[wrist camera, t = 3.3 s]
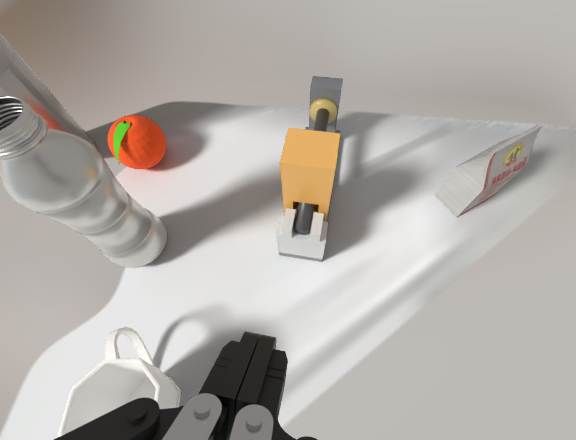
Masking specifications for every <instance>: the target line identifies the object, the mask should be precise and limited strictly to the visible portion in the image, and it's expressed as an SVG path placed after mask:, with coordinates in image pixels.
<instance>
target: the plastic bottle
mask: <svg viewBox="0 0 576 440" xmlns="http://www.w3.org/2000/svg"><path fill="white" fill-rule="evenodd" d="M0 174H1V178H2V182H3V185H4V187H5V189H6V190H7V192H8V193H9V194H10V195H11V197H12V198H13V199H14V200H15V201H16V202H17V203H19V204H21V205H23V206H25V207H27V208H29V209H30V210H32V211H35V212H37V213H39V214H42V215H44V216H47V217H49V218H51V219H54V220H56V221H58V222H60V223H63V224H65V225H67V226H68V227H70V228H72V229H73V230H76V231H77V232H79V233H80V234H82V235H84V236H85V237H87V239H89V240H90V241H91V242H92V243H93V244H95V245H96V246H97V247H98V248H99V249H100V251H101V252H102V253H103V254H104V255H105V256H106V257H107V258H108V259H109V260H110V261H111V262H113V263H115V264H117V265H120V266H124V267H128V268H137V267H142V266H145V265H147V264H149V263H151V262H152V261H154V260H155V259H156V258H157V257H158V256H159V255H160V254H161V253H162V251H163V249H164V247H165V245H166V242H167V232H166V229H165V227H164V225H163V223H162V221H161V220H160V219H159V218H158V217H157V216H156V215H154V214H153V213H152V212H150V211H149V210H147V209H145V208H143V207H142V206H141V205H140V204H139V203H137V202H136V201H135V200H134V199H133V198H132V197H130V195H129V194H128V193H127V192H126V191H125V189H124V188H123V187H122V186H121V184H120V183H119V182H118V181H117V179H116V178H115V176H114V175H113V173H112V171H111V170H110V168H109V167H108V165H107V163H106V162H105V160H104V159H103V157H102V156H101V154H100V153H99V152H98V151H97V149H96V148H95V147H94V146H93V145H92V144H90V143H89V142H87V141H86V140H84V139H82V138H81V137H78V136H76V135H73V134H70V133H66V132H63V131H59V130H54V129H49V127H48V124H47V122H46V121H45V120H44V119H43V118H42V117H41V116H40V115H39V114H37V113H35V112H34V110H33V109H32V108H31V107H30V106H29V105H28V104H27V103H26V102H25V101H23V100H22V99H21V98H19V97H16V96H1V97H0Z"/></svg>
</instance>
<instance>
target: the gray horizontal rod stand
mask: <svg viewBox="0 0 576 440" xmlns="http://www.w3.org/2000/svg"><path fill="white" fill-rule="evenodd" d="M342 80H343V79H338V78H328V77H316V76H313V79H312V83H311V92H310V115H309V127H306V129H305V130H313V131H322V132H331V133H340V131H339V130H335V129H336V122H337V115H338V108H339V101H340V94H341V88H342ZM331 194H332V192H331ZM330 201H331V198H330ZM329 208H330V204H329ZM313 209H314V204H309V203H302V202H299V205H298V210H297V215H296V209H289V208H286V210H285V215H281V217H280V221H279V226H278V230H277V235H276V237H277V243H278V250H279V255H284V256H290V257H296V258H302V259H308V260H314V261H321V262H322V259H323V254H324V249H325V244H326V237H327V229H328V215H329V210H328V215H327V221H326V222H325V221H323V216H324V213H317V212H314V214H313ZM312 215H313V220H312Z"/></svg>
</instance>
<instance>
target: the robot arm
mask: <svg viewBox="0 0 576 440" xmlns="http://www.w3.org/2000/svg"><path fill="white" fill-rule="evenodd" d="M1 96H16V97H19V98H21V99H22V100H23V101H25V102H26V103H27V104H28V105H29V106H30V107H31V108H32V109H33V110H34V112H35V113H37V114H39V115H40V116H41V117H42V118H43V119H44V120H45V121H46V122H47V124H48V127H49V129H54V130H59V131H63V132H66V133H70V134H73V135H76V136H78V137H81V138H82V139H84V140H86V141H87V142H89V143H90V144H92V145H93V146H94V147H95V148H96V146H95V143H94V142H93V141H92V140H91V139H90V137H89V136H88V135H87V133H86V132H85V131H84V130H83V129H82V128H81V127H80V126H79V124H78V123H77V122H76V121H75V120H74V118H73V117H72V116H71V115H70V114H69V113H68V111H67V110H66V109H65V108H64V107H63V106H62V104H61V103H60V102H59V101H58V100H57V99H56V97H55V96H54V95H53V94H52V93H51V92H50V90H48V88H47V87H46V86H45V85H44V84H43V82H42V81H41V80H40V79H39V78H38V76H36V74H35V73H34V72H33V71H32V69H31V68H30V67H29V66H28V65H27V64H26V63H25V61H24V60H23V59H22V58H21V57H20V56H19V54H18V53H17V52H16V51H15V50H14V48H13V47H12V46H11V45H10V44H9V43H8V42H7V41H6V39H5V38H4V37H3V36H2V35H1V33H0V97H1ZM275 348H276V337H271V336H266V335H260V334H256V333H251V332H244V334H243V336H242V339H241V341H240V342H236V341H231V342H229V343H228V344H227V345H226V346H224V347H223V349H222V351H221V353H220V354H219V356H218V358H217V360H216V362H215V365H214V366H213V368H212V370H211V372H210V373H209V375H208V377H207V379H206V381H205V383H204V385H203V387H202V389H201V390H200V392H199V394H198V395H196V396H194V397H192V398H191V399H189V400H188V401H187V403H186V404H185V405H184V406H181V407H177V408H168V409H159V405H158V403H157V402H156V401H155V400H154V399H151V398H138V399H135V400H133V401H130V402H128V403H126V404H124V405H122V406H120V407H118V408H116V409H114V410H112V411H110V412H108V413H106V414H104V415H102V416H100V417H98V418H96V419H94V420H92V421H90V422H88V423H86V424H84V425H82V426H80V427H78V428H76V429H74V430H72V431H70V432H68V433H66V434H64V435H62V436H60V437H58V438H56V439H54V440H296V439H295V438H293V437H291V436H290V435H288V434H287V433H286V432H285V431H284V430H283V429H282V428H281V426H280V424H279V422H278V415H279V410H280V405H281V401H282V396H283V391H284V385H285V378H286V370H287V363H288V360H287V357H286V353H285V351H280V350H275ZM297 440H317V439H315V438H312V437H301V438H299V439H297Z"/></svg>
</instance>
